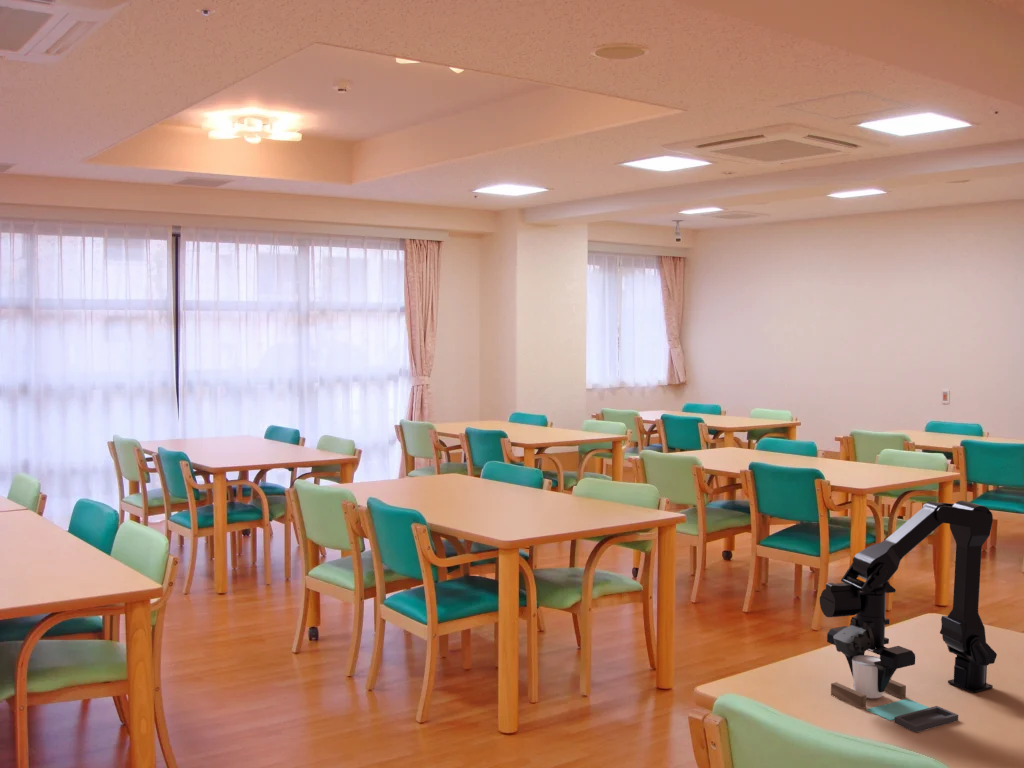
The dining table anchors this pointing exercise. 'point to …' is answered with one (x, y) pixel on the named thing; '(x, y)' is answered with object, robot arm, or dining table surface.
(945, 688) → the dining table surface
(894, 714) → the teal pad
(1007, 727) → the dining table surface
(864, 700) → the brown bar
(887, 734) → the dining table surface
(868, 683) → the white cup
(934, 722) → the trap pit
